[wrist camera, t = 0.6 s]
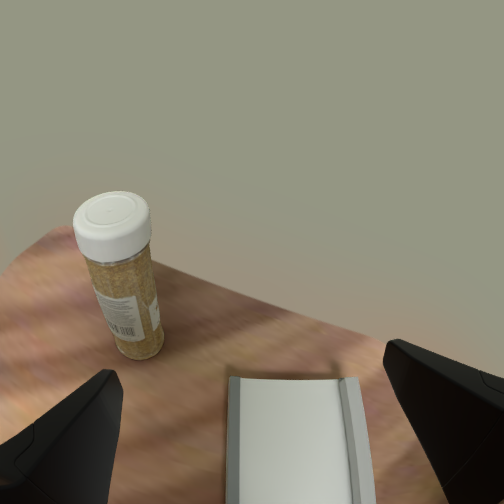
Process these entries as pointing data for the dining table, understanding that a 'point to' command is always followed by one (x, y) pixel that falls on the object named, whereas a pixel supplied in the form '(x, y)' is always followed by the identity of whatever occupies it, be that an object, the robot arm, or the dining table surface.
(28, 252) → the dining table surface
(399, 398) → the robot arm
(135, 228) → the sprinkles bottle
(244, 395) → the base
